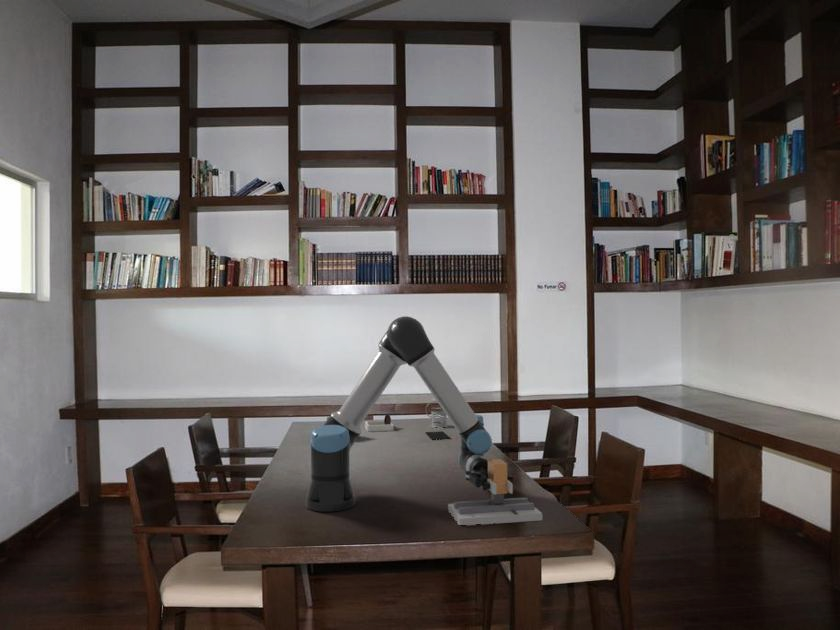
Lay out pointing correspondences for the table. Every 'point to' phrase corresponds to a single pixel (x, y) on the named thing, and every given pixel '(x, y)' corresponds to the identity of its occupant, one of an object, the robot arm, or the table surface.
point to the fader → (498, 480)
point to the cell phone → (437, 435)
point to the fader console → (494, 512)
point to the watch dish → (378, 426)
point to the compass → (387, 419)
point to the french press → (440, 412)
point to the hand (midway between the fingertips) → (503, 489)
